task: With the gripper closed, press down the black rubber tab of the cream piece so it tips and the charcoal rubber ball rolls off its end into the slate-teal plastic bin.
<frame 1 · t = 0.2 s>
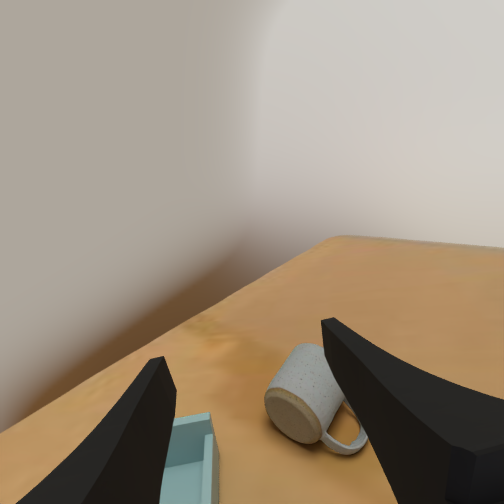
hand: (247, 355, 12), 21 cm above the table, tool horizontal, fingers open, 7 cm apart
ceramic mug: (318, 419, 31), on the table
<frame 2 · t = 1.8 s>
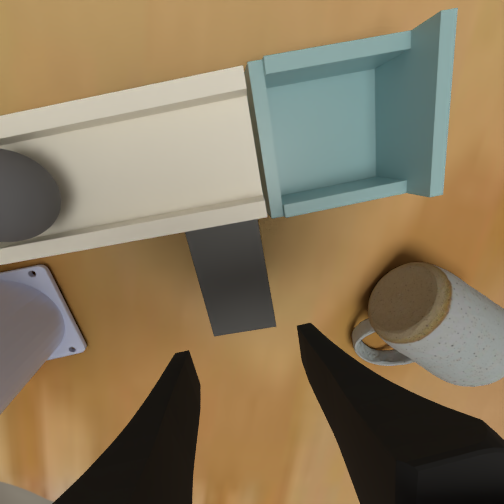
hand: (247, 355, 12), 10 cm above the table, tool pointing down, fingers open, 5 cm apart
cream piece: (136, 248, 14), point 6 cm above the table, hinge at -6.0°, touching ball
ceramic mug: (394, 308, 25), on the table
ball: (5, 196, 12), point 7 cm above the table, tilted 9°, touching cream piece
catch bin: (318, 137, 19), on the table
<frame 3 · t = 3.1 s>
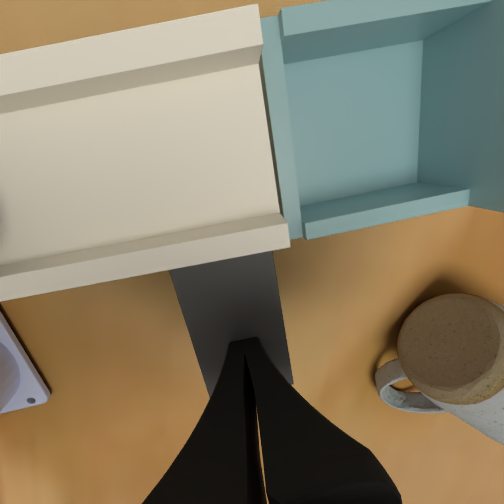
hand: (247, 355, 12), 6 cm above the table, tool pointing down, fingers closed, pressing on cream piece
cream piece: (95, 291, 9), point 6 cm above the table, hinge at -4.0°, touching gripper
ceramic mug: (425, 342, 21), on the table
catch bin: (345, 131, 15), on the table
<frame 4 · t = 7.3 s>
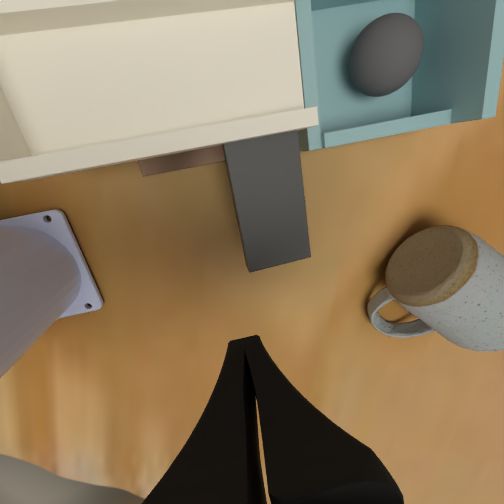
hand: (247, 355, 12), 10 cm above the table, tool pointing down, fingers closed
lever stand: (172, 104, 17), on the table
cream piece: (177, 165, 13), point 6 cm above the table, hinge at 4.1°
ceramic mug: (410, 279, 25), on the table
ball: (383, 57, 16), point 2 cm above the table, tilted 167°, touching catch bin
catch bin: (353, 72, 18), on the table
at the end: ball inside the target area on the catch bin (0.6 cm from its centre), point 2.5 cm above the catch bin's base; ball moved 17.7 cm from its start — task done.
